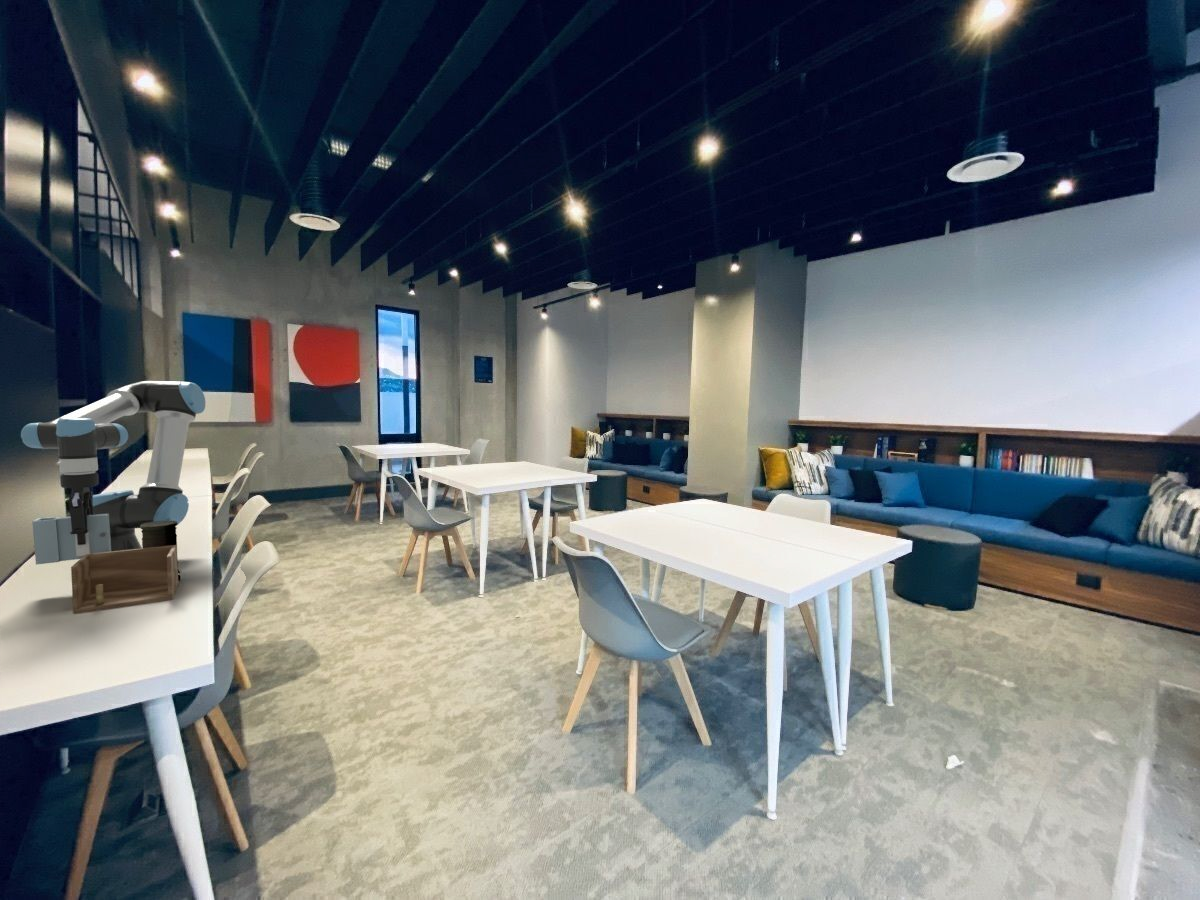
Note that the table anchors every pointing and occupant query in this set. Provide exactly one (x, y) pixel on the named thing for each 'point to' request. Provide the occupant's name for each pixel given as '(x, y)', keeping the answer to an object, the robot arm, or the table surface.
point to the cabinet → (124, 578)
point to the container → (159, 535)
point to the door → (68, 538)
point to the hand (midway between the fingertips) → (85, 553)
